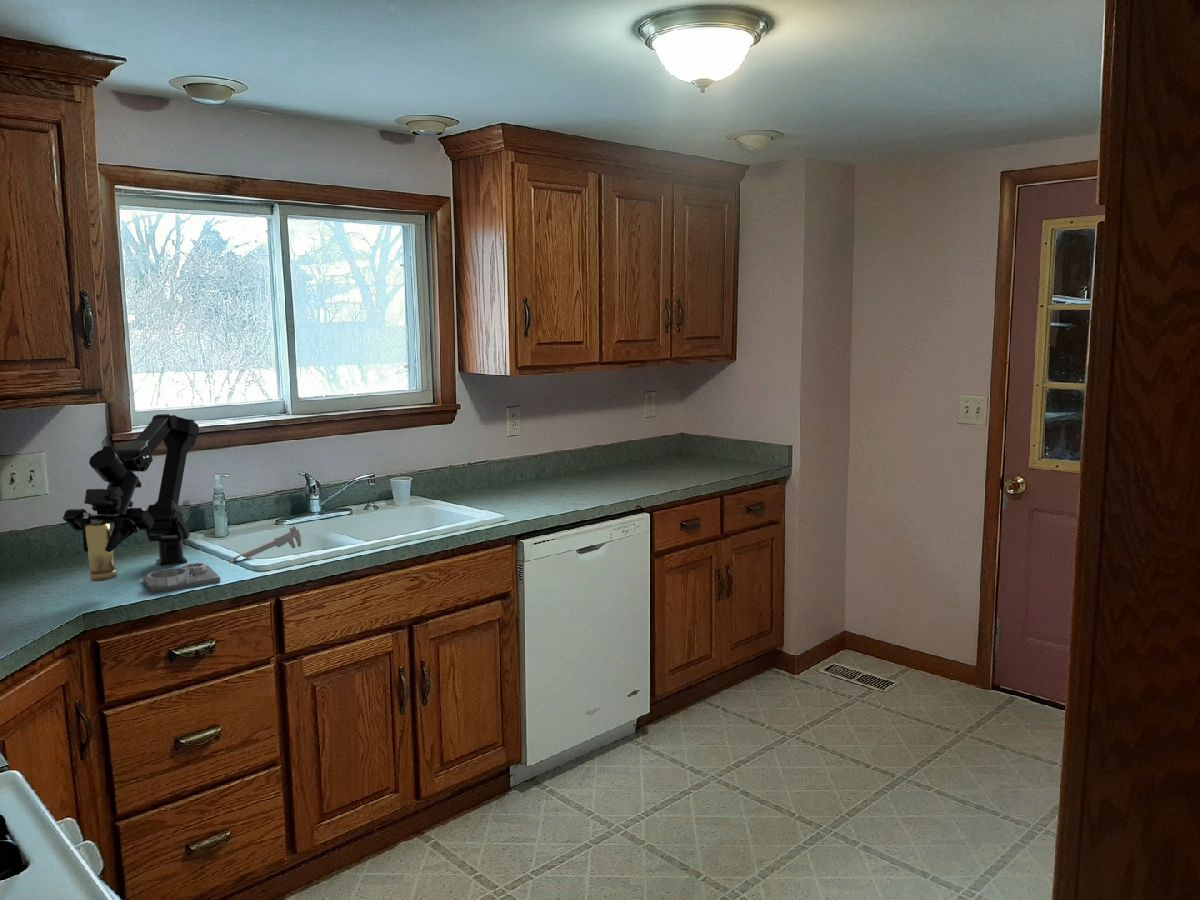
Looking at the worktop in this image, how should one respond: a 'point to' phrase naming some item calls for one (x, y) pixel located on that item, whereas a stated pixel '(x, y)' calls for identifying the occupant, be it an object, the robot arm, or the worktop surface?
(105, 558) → the brass cylinder
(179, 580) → the plate
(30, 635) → the worktop surface
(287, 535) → the caliper
